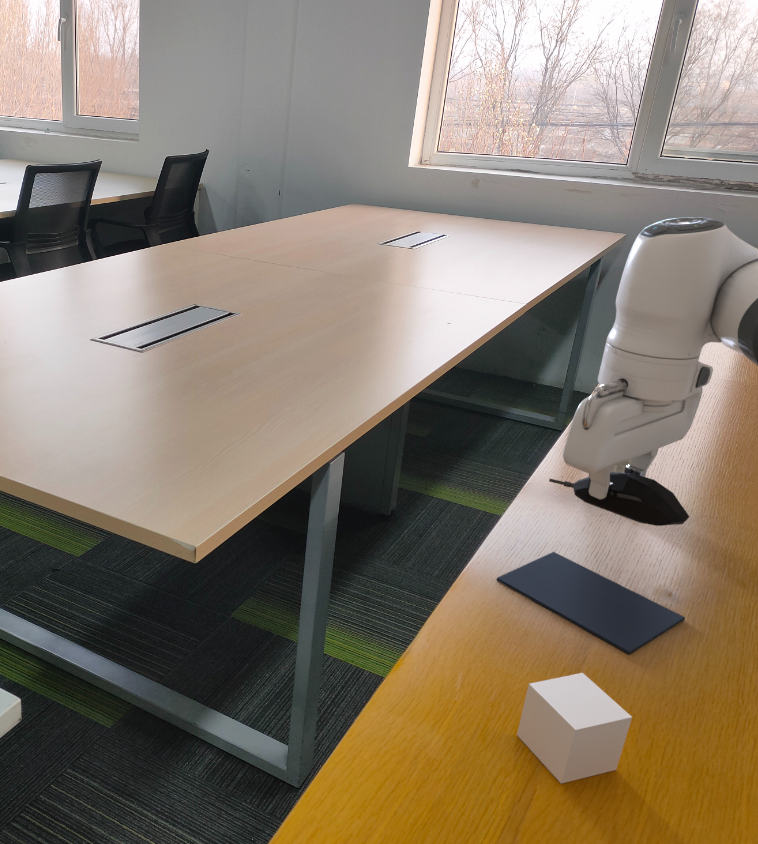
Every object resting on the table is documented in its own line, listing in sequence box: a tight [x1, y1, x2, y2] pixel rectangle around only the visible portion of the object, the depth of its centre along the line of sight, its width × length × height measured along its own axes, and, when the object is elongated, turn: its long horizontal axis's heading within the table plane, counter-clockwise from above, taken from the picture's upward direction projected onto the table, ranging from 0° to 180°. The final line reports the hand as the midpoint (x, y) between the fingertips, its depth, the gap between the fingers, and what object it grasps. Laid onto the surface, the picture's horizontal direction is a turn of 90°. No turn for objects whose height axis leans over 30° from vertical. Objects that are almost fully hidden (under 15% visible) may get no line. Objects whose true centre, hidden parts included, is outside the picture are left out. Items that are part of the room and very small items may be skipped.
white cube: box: [516, 672, 633, 784], centre depth 72 cm, size 6×6×6 cm
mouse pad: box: [496, 551, 686, 655], centre depth 96 cm, size 17×12×1 cm
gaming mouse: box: [548, 472, 690, 527], centre depth 91 cm, size 6×15×4 cm, turn 45°
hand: (616, 488), depth 91 cm, fingers closed on gaming mouse, 5 cm apart
